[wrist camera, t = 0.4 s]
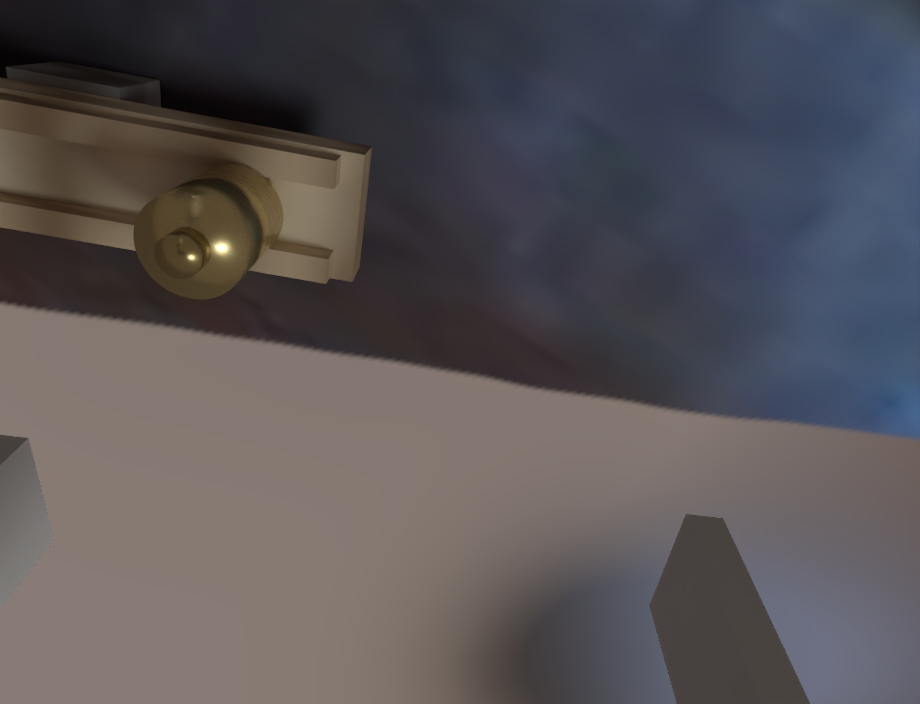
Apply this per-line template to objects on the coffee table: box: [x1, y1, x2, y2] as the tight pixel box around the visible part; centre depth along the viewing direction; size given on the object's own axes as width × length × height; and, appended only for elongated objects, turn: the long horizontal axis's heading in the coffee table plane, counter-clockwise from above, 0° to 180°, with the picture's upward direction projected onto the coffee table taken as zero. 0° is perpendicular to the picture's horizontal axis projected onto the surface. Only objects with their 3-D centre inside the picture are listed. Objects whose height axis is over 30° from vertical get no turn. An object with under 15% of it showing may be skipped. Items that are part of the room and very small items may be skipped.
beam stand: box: [0, 61, 372, 284], centre depth 30 cm, size 28×7×7 cm, turn 80°
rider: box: [133, 163, 283, 299], centre depth 25 cm, size 4×4×7 cm
